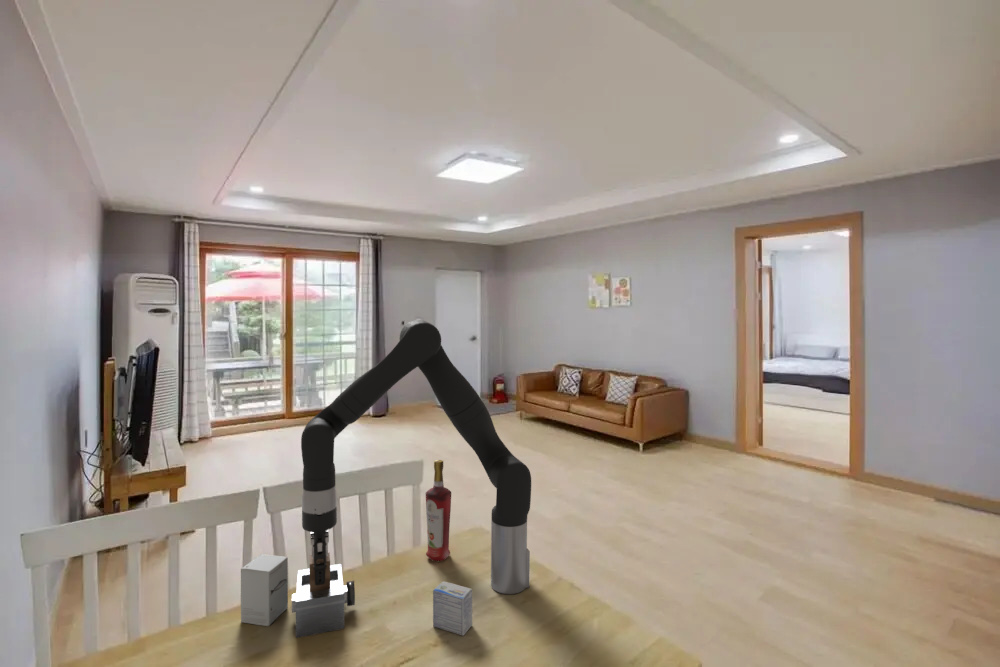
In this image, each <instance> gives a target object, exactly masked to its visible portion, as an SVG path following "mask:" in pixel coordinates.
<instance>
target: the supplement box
mask: <svg viewBox="0 0 1000 667" xmlns="http://www.w3.org/2000/svg"><path fill="white" fill-rule="evenodd" d="M288 564H289V563H288V556H283V555H282V556H281V555H274V554H273V555H272V554H265V553H264V554H262V553H261V554H259V555H258V556H256V557H255V558H254V559H253V560H251V561H249V562H248V563H247V564H246V565H244V566H242V567H241V568H240V623H245V624H252V625H257V626H264V627H270V625H272V623H273V622H274V621H275V620H277V618H278V617H280V615H282V614H283V613H284V612H285V611H286V610H287V609H288V607H289V604H288V603H289V597H288V596H289V594H288V593H289V584H288V583H289V582H288V581H289V580H288V579H289V575H288V574H289V573H288V570H289V568H288V567H289V566H288Z"/></svg>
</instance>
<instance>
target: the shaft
mask: <svg viewBox="0 0 1000 667" xmlns="http://www.w3.org/2000/svg"><path fill="white" fill-rule="evenodd" d="M343 587H344V605H345V604H346V605H347V607H351V606H355V605H356V592H355V591H356V590H355V588H356V587H355V580H350V581H346V585H343ZM291 613H296V593H293V594H291Z"/></svg>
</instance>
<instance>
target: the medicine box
mask: <svg viewBox="0 0 1000 667" xmlns="http://www.w3.org/2000/svg"><path fill="white" fill-rule="evenodd" d="M432 614H433V615H432V626H433V627H434V628H438V629H441V630H443V631H447V632H449V633H450V632H451V633H453V634H457V635H460V636H465V634H466V633H468V630H470V628H471V627H472V625H473V589H472V588H470V587H466V586H462V585H459V584H455V583H452V582H447V581H444V580H443V581H441V583H439V584H438V585H437V586H436V587H435V588H434V589H433V590H432Z"/></svg>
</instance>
